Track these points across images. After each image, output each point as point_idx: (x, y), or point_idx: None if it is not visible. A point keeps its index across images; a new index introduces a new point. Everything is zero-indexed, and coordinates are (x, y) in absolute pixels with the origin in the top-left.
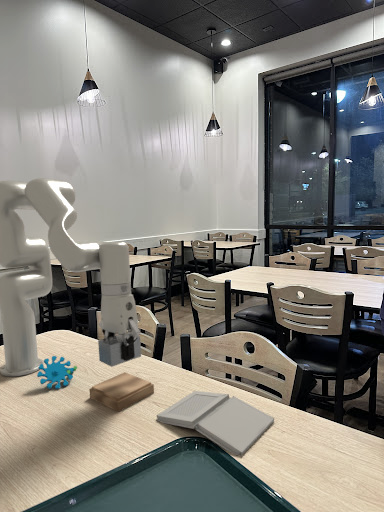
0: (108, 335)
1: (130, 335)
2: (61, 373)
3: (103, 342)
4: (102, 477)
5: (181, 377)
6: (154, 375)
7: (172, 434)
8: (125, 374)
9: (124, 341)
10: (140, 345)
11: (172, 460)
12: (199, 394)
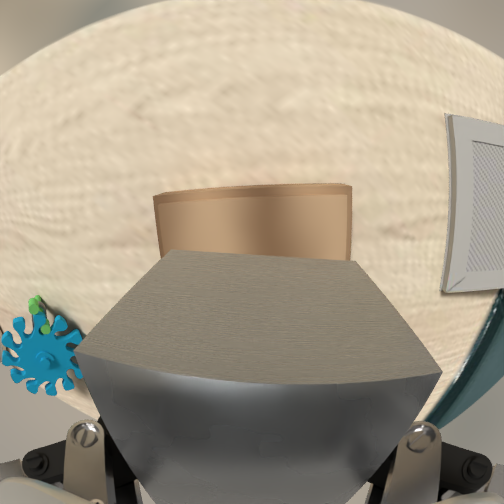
0: (138, 501)
1: (405, 499)
2: (50, 347)
3: None
4: (430, 415)
5: (322, 32)
6: (216, 77)
7: (483, 300)
8: (180, 216)
9: (378, 498)
10: (390, 303)
11: (497, 339)
12: (482, 141)
